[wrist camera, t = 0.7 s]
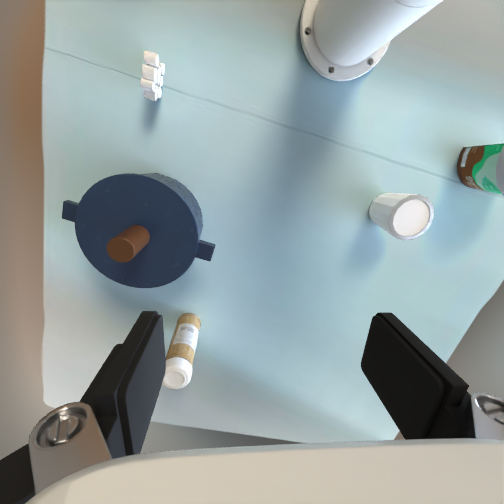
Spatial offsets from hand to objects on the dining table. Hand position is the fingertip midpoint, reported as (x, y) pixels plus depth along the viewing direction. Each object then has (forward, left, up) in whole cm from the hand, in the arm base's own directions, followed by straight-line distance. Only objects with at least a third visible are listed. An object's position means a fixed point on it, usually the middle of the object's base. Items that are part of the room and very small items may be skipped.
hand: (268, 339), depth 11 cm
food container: (-17, +35, -33) cm, 51 cm away
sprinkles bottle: (+25, -3, -33) cm, 41 cm away
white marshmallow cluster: (-12, -17, -33) cm, 39 cm away
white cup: (-7, +23, -33) cm, 41 cm away
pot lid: (+7, -13, -24) cm, 28 cm away
